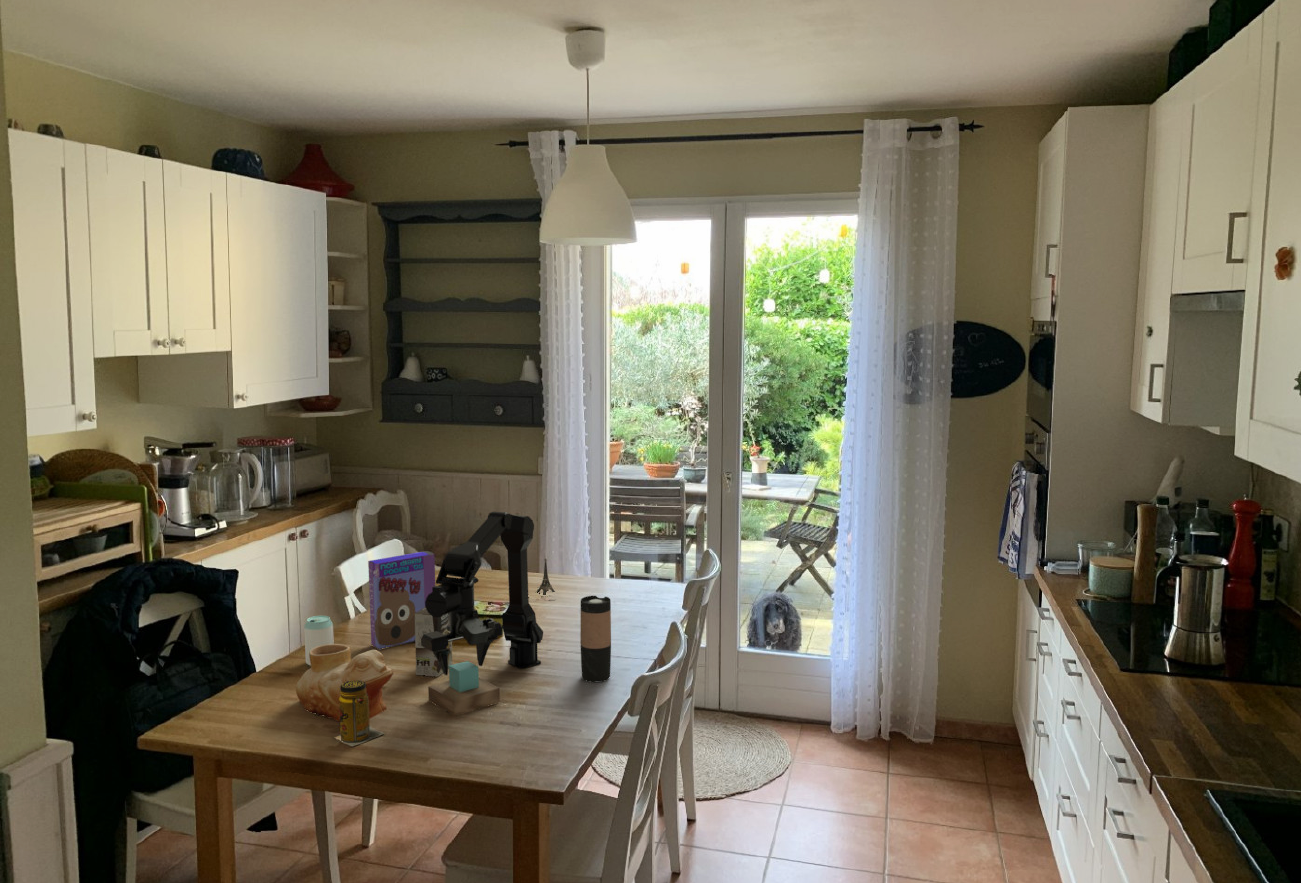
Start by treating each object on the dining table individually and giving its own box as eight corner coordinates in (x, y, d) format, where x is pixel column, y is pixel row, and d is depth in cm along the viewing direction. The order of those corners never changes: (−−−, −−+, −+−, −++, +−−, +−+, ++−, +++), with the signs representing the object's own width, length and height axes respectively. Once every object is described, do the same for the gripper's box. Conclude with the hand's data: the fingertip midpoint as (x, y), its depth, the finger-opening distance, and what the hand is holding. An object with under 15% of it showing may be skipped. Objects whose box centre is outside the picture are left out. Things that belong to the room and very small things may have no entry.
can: (325, 669, 252) (323, 623, 250) (300, 667, 253) (298, 621, 252) (339, 659, 259) (337, 615, 257) (315, 657, 260) (313, 613, 259)
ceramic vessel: (362, 733, 213) (360, 666, 211) (283, 707, 227) (280, 645, 225) (409, 711, 225) (407, 648, 223) (331, 688, 239) (328, 629, 237)
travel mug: (588, 684, 241) (587, 605, 239) (575, 674, 248) (575, 597, 245) (616, 679, 245) (616, 601, 242) (603, 669, 251) (603, 593, 249)
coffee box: (439, 677, 246) (437, 614, 244) (415, 675, 247) (413, 613, 245) (453, 664, 255) (452, 604, 253) (430, 663, 256) (428, 603, 254)
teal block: (468, 681, 234) (467, 660, 233) (478, 687, 230) (478, 666, 229) (449, 686, 231) (448, 665, 230) (459, 692, 227) (459, 671, 226)
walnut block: (473, 689, 239) (472, 674, 239) (500, 704, 230) (499, 687, 230) (428, 702, 231) (428, 686, 231) (454, 718, 222) (454, 701, 222)
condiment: (332, 738, 211) (330, 684, 209) (366, 725, 217) (364, 673, 216) (351, 747, 206) (349, 692, 204) (386, 734, 212) (384, 681, 211)
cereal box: (379, 649, 266) (376, 563, 263) (371, 645, 270) (368, 560, 267) (436, 636, 278) (434, 553, 275) (428, 632, 281) (426, 550, 278)
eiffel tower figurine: (533, 588, 328) (532, 549, 327) (563, 589, 328) (562, 550, 326) (525, 601, 313) (524, 560, 312) (556, 602, 313) (556, 561, 311)
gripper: (443, 621, 216) (445, 689, 218) (515, 605, 228) (516, 670, 230) (418, 610, 224) (420, 676, 226) (489, 595, 236) (490, 657, 238)
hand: (463, 670), depth 230 cm, fingers open, 9 cm apart
